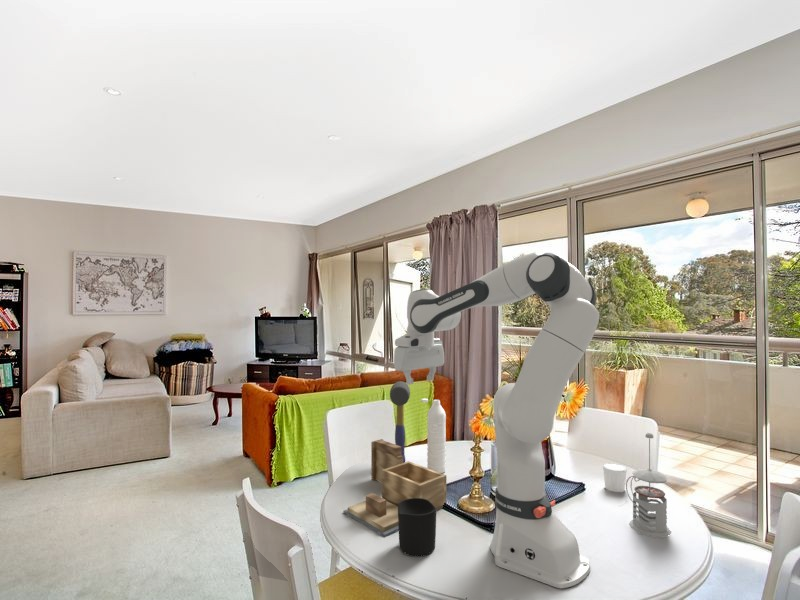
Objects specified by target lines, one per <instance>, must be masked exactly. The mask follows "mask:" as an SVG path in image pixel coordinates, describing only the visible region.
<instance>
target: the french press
mask: <svg viewBox="0 0 800 600" xmlns="http://www.w3.org/2000/svg"><path fill="white" fill-rule="evenodd" d="M645 438H647V439H648V440H649V441H648V454H649V455H648V468H639V469H636V470H634V471H633V472H632V475H631V476H629V477H628V478H627V479H626V480H625V490H626V494H627V496H628V498H629V500H630V501H631V502H632V520H630V521H629V522H628V525H629V528H631V529H632V531H635V532H636V533H638V534H640V535H644V536H647V537H651V538H658V539H659V538H660V537H662V538H668V537H669V536H668V535H670V534H671V535H672V531H671V530H669V529H670V528H669V526H668V525H667V521H668V520H667V519H668V517H667V514H668V513H667V509H668V506H667V505H668V503H667V502H668V500H667V498H666V493H665V492H664V490H662V489H659V488H657V487H654V486H651V484H664V483H666V482H667V481H668V477H667V476H666V475H664V474H663V473H661V472H660V471H658V470H656V469H651V439H654V435H653V433H651V432H647V433H645ZM630 479H631V480H630ZM629 480H630V490H631V494H632V498H631V496H630V494H629V492H628V491H629V490H628V481H629ZM633 480H634V482H639V481H642V482H646V483H648V485H637V486H635V487H634V491H635V492H633V488H632V485H633V484H632V481H633ZM637 494H638V497H637ZM658 499H659V500H658ZM649 512H651V513H649ZM671 535H670V536H671ZM667 536H668V537H667Z"/></svg>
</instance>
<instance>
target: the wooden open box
mask: <svg viewBox="0 0 800 600" xmlns="http://www.w3.org/2000/svg"><path fill="white" fill-rule="evenodd" d="M381 498H383V499H385V500H386V501H387V502H389V503H391V504H394V505H396V506H398V505H399V503H400V502H401V501H403V500H406V499H410V498H423V499H426V500H428V501H430V502H431V503H432V504H433V505H434V507H435V508H437V511H439V510H442V509H444V508H443V505H444V503H446V504H447V474H444V473H439V472H436V471H433V470H431V469H428V468H427V467H425V466H423V465H420V464H417V463H414V462H412V461H405V463H402V464H399V465H396V466H393V467H390V468H386V469H383V470H382V482H381Z"/></svg>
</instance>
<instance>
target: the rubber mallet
mask: <svg viewBox="0 0 800 600" xmlns="http://www.w3.org/2000/svg"><path fill="white" fill-rule="evenodd" d="M389 397H390V401H391V402H392V403H393V404H394V405H396V425H395V430H394V431H395V432H394V443H395V445H398V446H401V455H402V456H403V463H405V462H406V455H405V443H406V428H405V422H404V421H405V419H404V418H405V417H404V415H405V414H404V413H405V412H404V411H405V410H404V409H405V408H404V405H406V404H407V403H408V401H409V399H410V397H411V389H410V386H409V384H407V383H406V382H405V381H401V380H400V381H399V380H398V381H396V382H395V383H393V384H392V386H391V388H390V390H389Z"/></svg>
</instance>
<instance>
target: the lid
mask: <svg viewBox="0 0 800 600" xmlns="http://www.w3.org/2000/svg"><path fill="white" fill-rule="evenodd" d="M347 509H348V512H350V513H351V514H353V515H355V516H357V517H358V518H360V519H362V520H364V521H365V522H367V523H369V524H371V525H372V526H374V527H376V528H378V529H380V530H381V531H383V532H385V531H387V530H390V529H392V528H394V527H396V526H398V506H396V505H394V504H391V503H389V502H387V501H386V500H385V499H383V498H382V496H379V495H377V494H375V493H373V492H371V493H369V494H367V495H365V500H363V501H361V502H358V503H355V504H353V505H350V506H348V507H347Z"/></svg>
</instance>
